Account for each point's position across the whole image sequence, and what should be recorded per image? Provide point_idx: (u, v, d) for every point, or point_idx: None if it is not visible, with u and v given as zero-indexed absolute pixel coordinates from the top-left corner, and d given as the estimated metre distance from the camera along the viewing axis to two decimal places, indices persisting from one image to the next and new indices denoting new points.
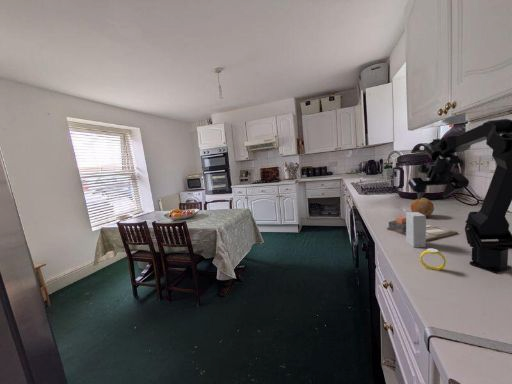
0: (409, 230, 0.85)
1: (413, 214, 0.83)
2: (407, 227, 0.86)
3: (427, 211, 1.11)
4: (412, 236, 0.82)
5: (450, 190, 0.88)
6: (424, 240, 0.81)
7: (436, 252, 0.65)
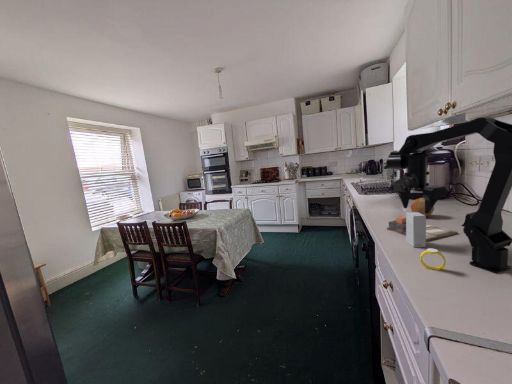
0: (408, 230, 0.85)
1: (413, 214, 0.83)
2: (407, 227, 0.86)
3: None
4: (412, 236, 0.82)
5: (408, 195, 0.88)
6: (424, 240, 0.81)
7: (436, 252, 0.65)
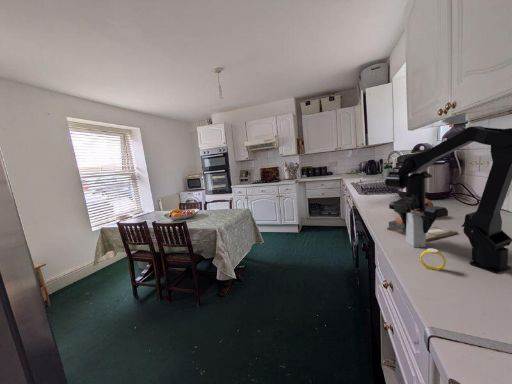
0: (409, 230, 0.85)
1: (413, 214, 0.83)
2: (407, 227, 0.86)
3: None
4: (412, 236, 0.82)
5: None
6: (424, 240, 0.81)
7: (436, 252, 0.65)
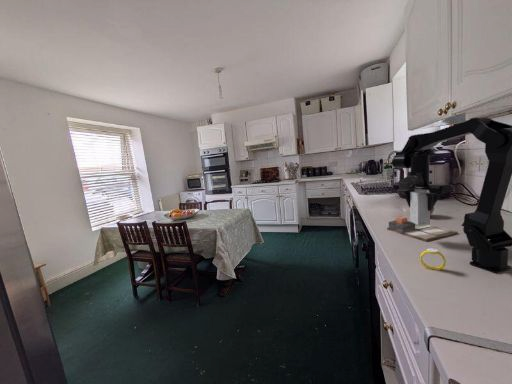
0: (413, 209, 0.86)
1: (417, 193, 0.84)
2: (411, 206, 0.87)
3: None
4: (416, 214, 0.83)
5: None
6: (428, 218, 0.82)
7: (436, 252, 0.65)
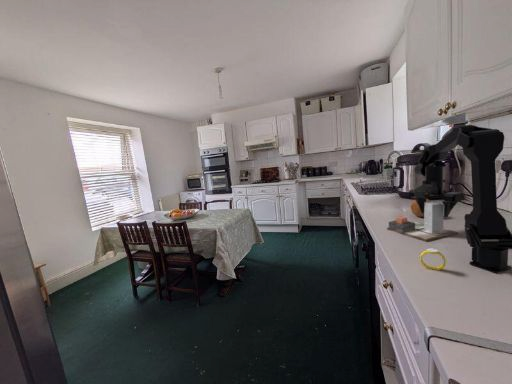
0: (427, 218, 0.94)
1: (431, 203, 0.91)
2: (425, 215, 0.95)
3: None
4: (431, 223, 0.91)
5: (425, 201, 0.97)
6: (442, 226, 0.90)
7: (436, 252, 0.65)
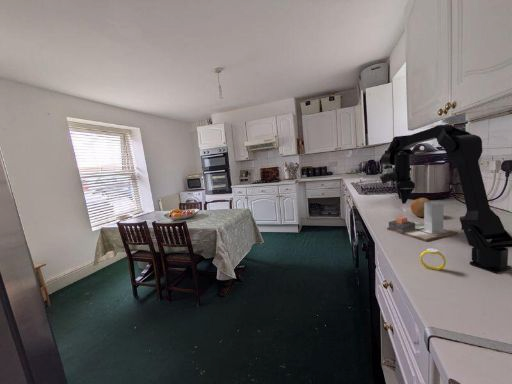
0: (427, 218, 0.94)
1: (431, 203, 0.91)
2: (425, 215, 0.95)
3: None
4: (431, 223, 0.91)
5: None
6: (442, 226, 0.90)
7: (436, 252, 0.65)
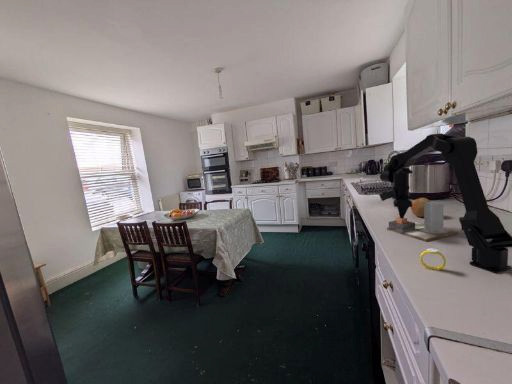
0: (427, 218, 0.94)
1: (431, 203, 0.91)
2: (425, 215, 0.95)
3: None
4: (431, 223, 0.91)
5: None
6: (442, 226, 0.90)
7: (436, 252, 0.65)
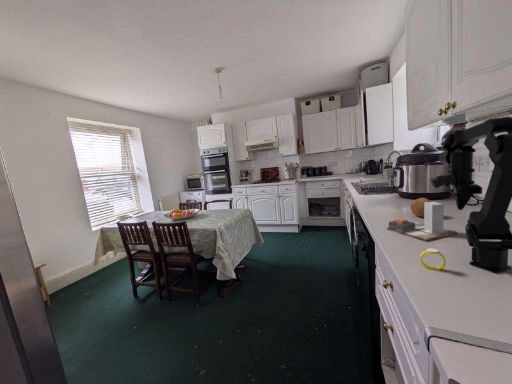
0: (427, 218, 0.94)
1: (431, 203, 0.91)
2: (425, 215, 0.95)
3: None
4: (431, 223, 0.91)
5: None
6: (442, 226, 0.90)
7: (436, 252, 0.65)
